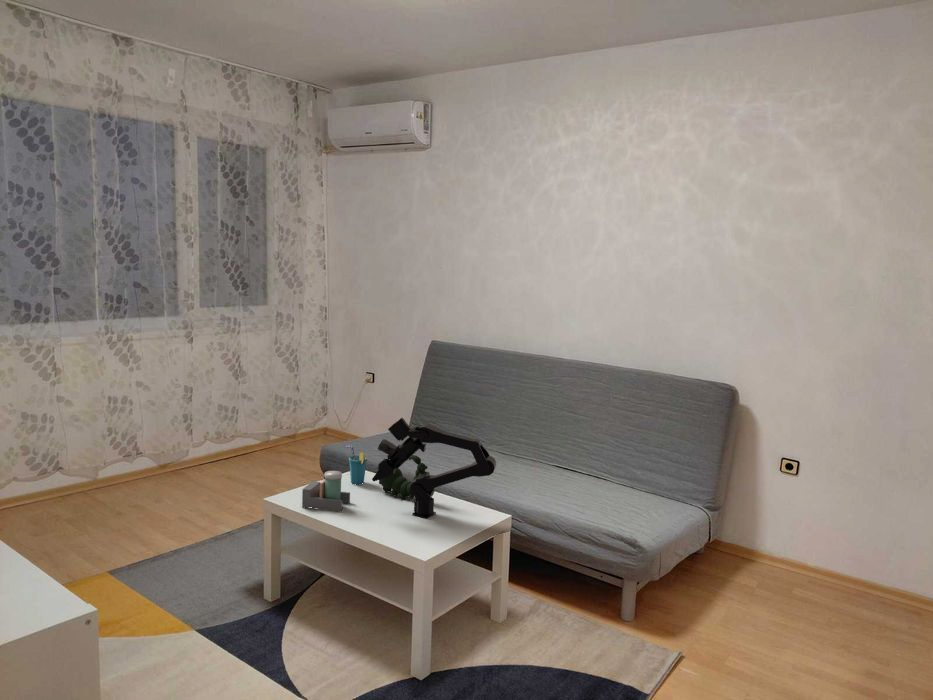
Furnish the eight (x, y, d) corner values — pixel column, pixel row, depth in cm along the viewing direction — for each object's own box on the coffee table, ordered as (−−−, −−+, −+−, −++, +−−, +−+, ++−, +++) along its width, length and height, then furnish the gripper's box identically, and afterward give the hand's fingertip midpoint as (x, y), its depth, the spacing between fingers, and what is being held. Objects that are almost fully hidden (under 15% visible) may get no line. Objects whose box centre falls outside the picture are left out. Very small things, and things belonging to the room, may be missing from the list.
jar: (344, 505, 254) (345, 472, 253) (333, 509, 249) (333, 476, 247) (331, 501, 257) (332, 469, 256) (320, 506, 252) (320, 473, 251)
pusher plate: (328, 501, 257) (328, 478, 256) (321, 507, 250) (321, 483, 249) (326, 500, 257) (326, 477, 256) (319, 507, 250) (319, 483, 249)
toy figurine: (428, 503, 266) (383, 484, 280) (434, 457, 262) (387, 440, 277) (413, 509, 258) (366, 489, 273) (418, 461, 255) (371, 444, 270)
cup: (338, 480, 284) (339, 445, 283) (353, 477, 290) (354, 442, 288) (358, 488, 275) (359, 452, 273) (373, 484, 280) (374, 449, 279)
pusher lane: (349, 502, 257) (350, 484, 257) (341, 511, 247) (341, 492, 247) (312, 499, 260) (312, 481, 259) (302, 507, 250) (302, 489, 249)
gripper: (398, 428, 256) (369, 454, 259) (384, 439, 238) (353, 467, 240) (417, 450, 256) (388, 475, 258) (405, 463, 237) (374, 490, 240)
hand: (376, 476), depth 249 cm, fingers open, 9 cm apart
